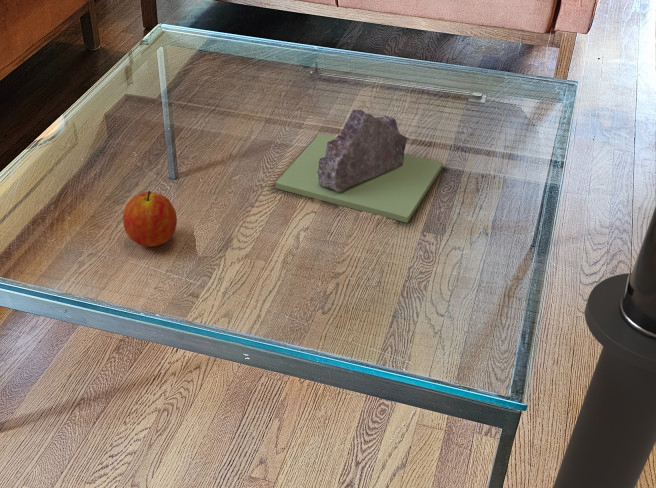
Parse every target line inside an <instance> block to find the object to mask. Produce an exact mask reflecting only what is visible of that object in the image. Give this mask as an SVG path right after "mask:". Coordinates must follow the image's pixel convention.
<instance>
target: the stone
mask: <svg viewBox="0 0 656 488" xmlns="http://www.w3.org/2000/svg"><path fill="white" fill-rule="evenodd" d="M407 142H408V137H407V136H406V135H404V134H402V133H401V132H400V130H399V127H398V124H397V120H396V118H394V117H392V116H388V115H383V116H377V117H375V116H374V115H372V114H371V113H367V112H366V111H365V110H363V109H355V108H353V109H352V111H351V112H350V114H349V117H348V119H347V120H346V121H345V124H344V126H343V129H342V130H341V131H340V133H339V135H337V136H336V137H335V139H334V140H332V141H329V142H327V149H326V155H325V157H323V158H321V159H319V168H318V170H317V172H318V184H319V185H320V186H322V187H325V188H328V189H333V190H335V191H337V192H342V191H343V190H345V189H346V188H348V187H350V186H353V185H356V184H358V183H360V182H363V181H365V180H367V179H370V178H373V177H375V176H378V175H380V174H382V173H383V172H388V171H391V170H393V169H396V168H398V167H400V166H402V165H403V160H404V154H405V150H406V146H407Z"/></svg>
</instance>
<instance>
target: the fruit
mask: <svg viewBox="0 0 656 488" xmlns="http://www.w3.org/2000/svg"><path fill="white" fill-rule="evenodd" d="M177 218H178V217H177V211H176V209H175V207H174V206H173V204H172V202H171V200H169V198H168V197H167V196H165V195H163V194H161V193H157V192H153V191H152V192H151V190H148V191H145V192H141V193H139V194H137V195H135V196H134V197H132V198H131V199H129V201H128V202H127V203H126V205H125V207H124V209H123V213H122V224H123V229H124V231H125V233H126V235H127V236H128V237H129V239H130V240H131V241H133V242H134V243H136V244H138V245H139V246H143V247H147V248H149V247H157V246H160V245H163V244H165V243H166V242H168V241H169V240H170V239H171V238H172V237H173V235H174V234H175V231H176V228H177V224H178V219H177Z"/></svg>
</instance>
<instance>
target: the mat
mask: <svg viewBox="0 0 656 488" xmlns="http://www.w3.org/2000/svg"><path fill="white" fill-rule="evenodd" d="M335 138H336V137H335V136H331V135H326V134H321V133H319V134H318V135H317V136H316V137H315V138H314V139H313V140H312V142H310V144H309V145H308V146H307V147H306V148H305V149H304V150H303V152H302V153H301V154H300V155H299V156H298V157H297V158H296V160H294V161H293V162H292V164H291V165H290V166H289V167H288V168H287V169H286V171H285V172H283V174H282V175H281V176H280V177H279V178H278V179H277V180H276V181H275V189H277V190H280V191H285V192H288V193H292V194H296V195H300V196H303V197H307V198H310V199H315V200H319V201H322V202H326V203H330V204H334V205H338V206H341V207H345V208H349V209H353V210H355V211H359V212H360V211H361V212H364V213H367V214H368V213H369V214H372V215H375V216H379V217H383V218H387V219H391V220H395V221H399V222H402V223H406V224H408V223H409V222H410V220H411V218H412V217H413V215H414V214H415V212H416V211H417V209H418V207H419V206H420V204H421V202H422V201H423V199H424V198H425V196H426V194H427V193H428V191H429V190H430V189H431V187H432V186H433V184H434V182H435V180H436V179H437V177H438V176H439V175H440V173H441V171H442V169H443V166H444V162H442V161H438V160H433V159H429V158H424V157H421V156H416V155H412V154H407V153H404V160H403V165H402V166H400V167H398V168H396V169H393V170H391V171H388V172H383V173H382V174H380V175H378V176H375V177H373V178H370V179H367V180H365V181H363V182H360V183H358V184H356V185H353V186H350V187H348V188H346V189H345V190H343V191H342V192H337V191H335V190H333V189H328V188H325V187H322V186H320V185H319V184H318V172H317V170H318V168H319V159H321V158H323V157H325V155H326V149H327V142H329V141H332V140H334V139H335Z"/></svg>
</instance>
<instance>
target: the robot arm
mask: <svg viewBox="0 0 656 488" xmlns="http://www.w3.org/2000/svg"><path fill="white" fill-rule="evenodd" d="M628 273H629V275H630V273H631V276H630V279H629V276H628V279H627V284H626V289H625V292H624V295H623V297H622V299H621V302H620V305H619V311H620V314H621V316H622V318H623V319H624V321H625V322H626V323H627V324H628V325H629V326H630V327H631V328H633V329H634V330H635V331H637V332H639V333H640V334H642V335H644V336H646V337H649V338H651V339H654V340H656V206H655V207H654V210H653V213H652V215H651V218H650V220H649V224H648V226H647V229H646V232H645V234H644V237H643V240H642V243H641V245H640V247H639V252H638V254H637V256H636V260H635V263H634V265H633V268H632V270H631V272H628ZM628 281H629V282H628Z"/></svg>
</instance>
